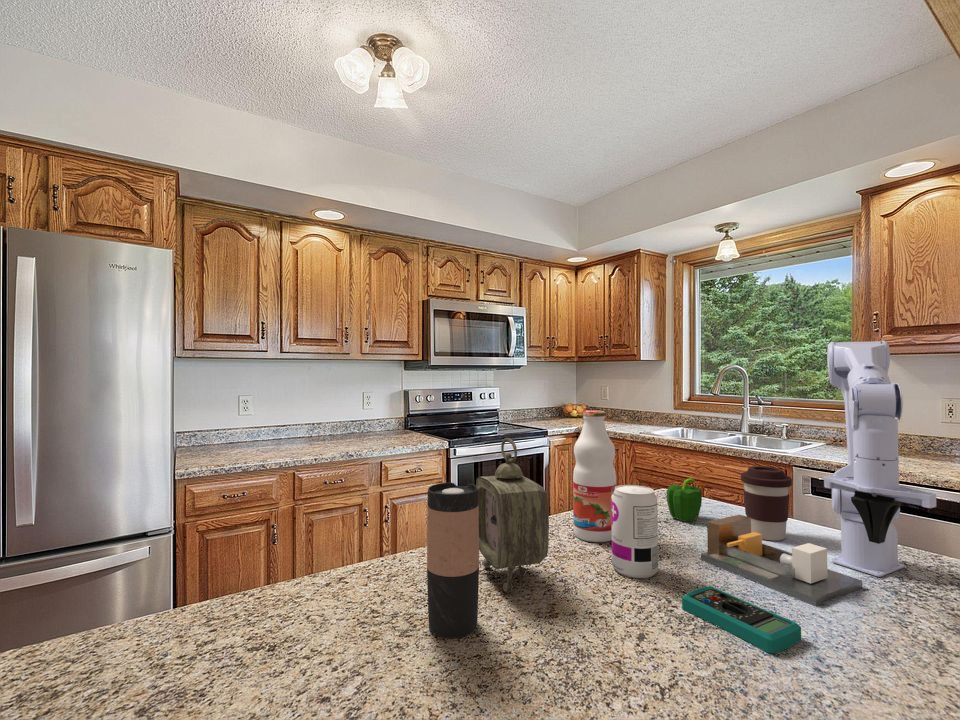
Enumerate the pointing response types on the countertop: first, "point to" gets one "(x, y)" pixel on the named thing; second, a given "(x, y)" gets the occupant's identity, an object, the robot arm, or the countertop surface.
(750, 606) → the digital multimeter
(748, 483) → the coffee cup
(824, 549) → the cream block with peg
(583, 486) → the fruit juice
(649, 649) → the countertop surface
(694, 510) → the bell pepper
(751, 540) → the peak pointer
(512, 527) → the tabletop clock
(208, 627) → the countertop surface
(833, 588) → the base
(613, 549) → the supplement can
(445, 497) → the travel mug
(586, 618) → the countertop surface
